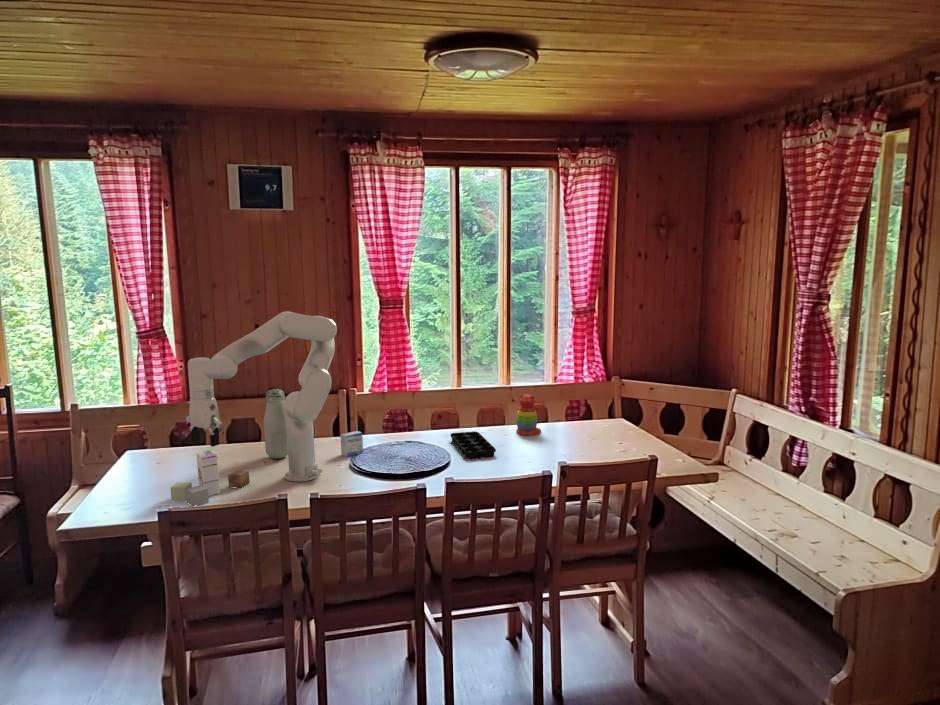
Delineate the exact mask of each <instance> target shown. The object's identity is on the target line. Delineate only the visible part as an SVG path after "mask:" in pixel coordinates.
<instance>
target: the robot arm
mask: <svg viewBox="0 0 940 705" xmlns="http://www.w3.org/2000/svg"><path fill="white" fill-rule="evenodd" d="M337 332H338V328H337V324H336V323H335V321H334V320H333V319H331V318H329V317H325V316H323V315H322V316H321V315H309V314H307V315H306V314H301V313H297V312H293V311H282V312H279V313H278V314H277V315H275V316H274V317H272V318H271V319H270V320H268V321H266V322H265V323H263V324H262V325H261V326H259V327H258V328H256V329H255V330H253V331H251V332H250V333H248V334H246V335H244V336H242V337H241V338H239V339H237V340H235V341H234V342H232V343H230V344H229V345H227V346H225V347H224V348H222V349H221V350H220V351H218V352H217V353H215V354H214V355H213V356H212V357H211V359H210V358H209V357H203V356H202V357H194V358H190V359H189V360H188V362H187V370H188V371H187V372H188V385H189V386H188V387H189V408H188V410H189V411H188V412H189V415H187V416H185V420H186V422H187V426H188V428H189V431H190V437H191V439H190V440H191V441H190V442H191V443H194V444H195V443H197V442H200V441H201V430H200V429H205V430H208V431H209V434H210V435H209V444H210V447H216V446H219V445H220V434H221V431H222V427H223V422H222V421H221V420H220V412H219V407H218V402H217V399H216V398H215V390H214V387H215V386H214V379H215V380H216V379H218V380H220V379H221V380H226V379H231V378H233V377H234V376H235V375H236V374H237V372H238V365H239V364H241V363H242V362H244V361H245V360H247V359H249V358H252V357H254V356H255V357H257V356H259V355H263V354H266V353H267V352H269V351H271V350H272V349H273V348H275V347H276V346H278V345H280V343H283V341H285V340H287V339H288V338H295V339H301V340H308V341H311V342H310V343H311V344H310V345H311V346H310V350H309V352H308V355H307V358H306V359H305V361H304V364H303V365H302V368H301V370H300V372H299V374H298V378H297V380H298V383H299V385H300V386H301V389H300V391H296V390H295V391H293V392H290V393H289V394H288V395H286V396H285V399H284V414H285V420H286V428H287V445H288V455H287V458H288V459H287V460H288V471H287V472H286V473H285V474H284V478H285V480H286V481H290V482H295V483H296V482H300V483H301V482H308V481H311V480H314V479H317V478H319V477H320V476H321V474H322V473H323V469H322V468H318V463H316V454H315V453H316V451H315V436H314V435H315V433H314V432H315V431H314V428H315V427H314V421H315V420H316V419H317V417H318V416H319V414H320V412H321V410H322V409H323V406H324V404H325V402H326V400H327V398H328V395H329V393H330V390H331V387H332V381H333V380H332V376H331V374H330V373H329V368H330V366H331V363H332V361H333V358H334V355H335V351H336V343H335V337H336V335H337Z"/></svg>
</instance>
